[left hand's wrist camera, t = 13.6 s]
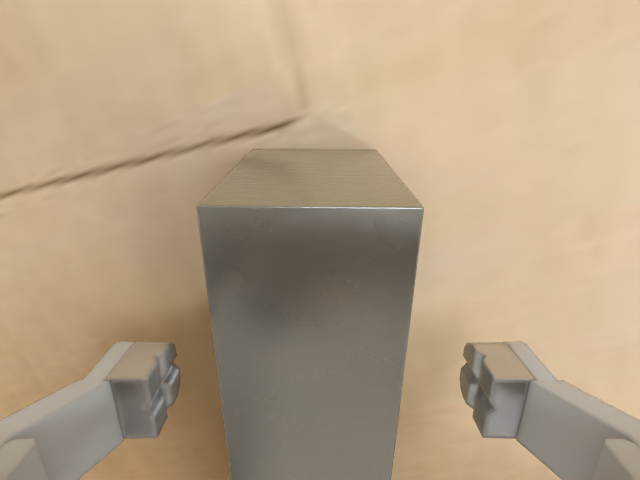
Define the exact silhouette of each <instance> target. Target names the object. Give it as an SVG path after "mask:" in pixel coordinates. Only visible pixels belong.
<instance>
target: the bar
mask: <svg viewBox="0 0 640 480" xmlns="http://www.w3.org/2000/svg"><path fill="white" fill-rule="evenodd" d="M423 212H424V207H423V206H422V205H421V204H420V202H419V201H418V200H417V199H416V197H415V196H414V195H413V194H412V193H411V191H410V190H409V189H408V188H407V186H406V185H405V184H404V183H403V182H402V180H401V179H400V178H399V177H398V175H397V174H396V173H395V172H394V171H393V169H392V168H391V167H390V166H389V164H388V163H387V162H386V161H385V160H384V158H383V157H382V156H381V155H380V153H379V152H378V151H377V150H294V149H252V150H251V151H250V152H249V153H248V154H247V155H246V156H245V157H244V158H243V159H242V160H241V161H240V162H239V163H238V164H237V165H236V166H235V167H234V168H233V169H232V170H231V171H230V172H229V173H228V175H227V176H226V177H225V178H224V179H223V180H222V181H221V182H220V183H219V184H218V185H217V186H216V187H215V188H214V189H213V190H212V191H211V192H210V193H209V194H208V195H207V196H206V197H205V198H204V199H203V200H202V201H201V202H200V203H199V204H198V205H197V215H198V223H199V231H200V239H201V247H202V254H203V262H204V270H205V278H206V286H207V294H208V302H209V310H210V318H211V326H212V334H213V342H214V350H215V358H216V366H217V373H218V381H219V389H220V397H221V405H222V413H223V421H224V429H225V437H226V445H227V453H228V461H229V469H230V477H231V480H391V474H392V466H393V457H394V449H395V441H396V433H397V425H398V416H399V408H400V400H401V392H402V384H403V376H404V367H405V359H406V351H407V343H408V335H409V326H410V318H411V310H412V302H413V294H414V285H415V277H416V269H417V261H418V253H419V244H420V236H421V228H422V220H423Z"/></svg>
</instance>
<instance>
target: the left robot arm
mask: <svg viewBox="0 0 640 480" xmlns="http://www.w3.org/2000/svg"><path fill="white" fill-rule="evenodd" d="M176 356H177V353H176V348H175V345H174V344H173V343H172V342H117V343H114V344H113V346H112V347H111V348H110V349H109V350H108V351H107V353H106V354H105V355H104V356H103V357H102V358H101V360H100V361H99V362H98V363H97V364H96V365H95V366H94V368H93V369H92V370H91V371H90V372H89V373H88V375H87V376H86V377H85V378H84V379H83V380H82V381H75V382H73V383H71V384H69V385H67V386H65V387H63V388H61V389H59V390H57V391H56V392H54V393H52V394H50V395H48V396H46V397H44V398H42V399H40V400H38V401H36V402H34V403H32V404H31V405H29V406H27V407H25V408H23V409H21V410H19V411H17V412H15V413H13V414H11V415H9V416H7V417H6V418H4V419H2V420H0V480H78V479H79V478H80V477H82V476H83V475H84V474H85V473H86V472H87V471H89V470H90V469H91V468H92V467H93V466H94V465H96V464H97V463H98V462H99V461H100V460H101V459H102V458H104V457H105V456H106V455H107V454H108V453H109V452H111V451H112V450H113V449H114V448H115V447H116V446H118V445H119V444H120V443H121V442H122V441H123V439H127V438H157V437H158V435H159V433H160V431H161V429H162V427H163V425H164V423H165V421H166V419H167V412H166V409H167V408H168V407H170V406H171V405H173V404H174V402H175V400H176V398H177V395H178V391H179V386H180V372H179V368H178V367H177V366H176V365H175V364H174V363H173V361H174V359H175V358H176ZM463 356H464V358H465V359H466V361H467V363H466V364H465V365H464V366H463V367H462V368H461V373H460V386H461V391H462V395H463V398H464V400H465V402H466V404H467V405H469V406H470V407H472V408H473V409H474V412H473V419H474V421H475V423H476V425H477V427H478V429H479V431H480V433H481V435H482V437H483V438H513V439H517V441H518V442H519V443H520V444H521V445H523V446H524V447H525V448H526V449H527V450H528V451H530V452H531V453H532V454H533V455H534V456H535V457H537V458H538V459H539V460H540V461H541V462H542V463H543V464H545V465H546V466H547V467H548V468H549V469H550V470H552V471H553V472H554V473H555V474H556V475H557V476H559V477H560V478H561V479H562V480H640V420H638V419H636V418H634V417H632V416H630V415H629V414H627V413H625V412H623V411H621V410H619V409H617V408H615V407H613V406H611V405H609V404H607V403H606V402H604V401H602V400H600V399H598V398H596V397H594V396H592V395H590V394H588V393H586V392H584V391H583V390H581V389H579V388H577V387H575V386H573V385H571V384H569V383H567V382H565V381H558V380H557V379H556V378H555V377H554V376H553V375H552V373H551V372H550V371H549V370H548V369H547V368H546V366H545V365H544V364H543V363H542V362H541V361H540V360H539V358H538V357H537V356H536V355H535V354H534V353H533V351H532V350H531V349H530V348H529V347H528V346H527V344H526V343H524V342H522V341H513V342H486V343H466V345H465V347H464V353H463Z"/></svg>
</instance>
